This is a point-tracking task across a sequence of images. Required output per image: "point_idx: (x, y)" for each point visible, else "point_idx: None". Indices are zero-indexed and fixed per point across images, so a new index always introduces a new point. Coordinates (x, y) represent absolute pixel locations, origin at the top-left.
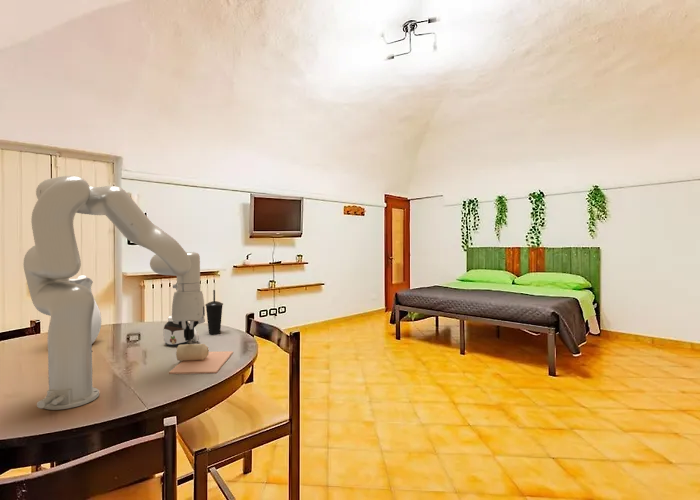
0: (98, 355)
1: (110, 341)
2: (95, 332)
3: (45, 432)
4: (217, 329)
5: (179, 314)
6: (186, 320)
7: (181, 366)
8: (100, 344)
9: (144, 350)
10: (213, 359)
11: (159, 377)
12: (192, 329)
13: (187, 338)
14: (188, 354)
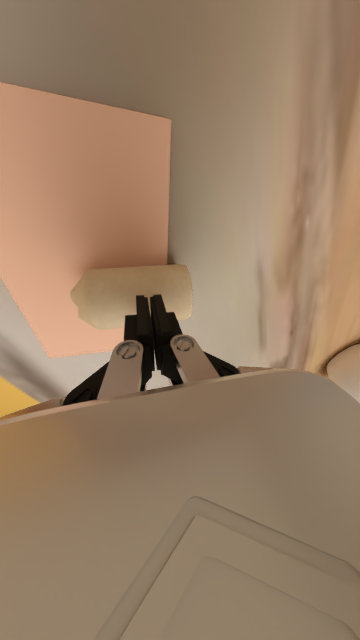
0: (333, 319)
1: None
2: (346, 376)
3: None
4: None
5: (322, 481)
6: (165, 391)
7: (146, 210)
8: (319, 362)
9: (263, 347)
10: (63, 288)
11: (198, 62)
12: (123, 346)
13: (150, 301)
14: (141, 268)
